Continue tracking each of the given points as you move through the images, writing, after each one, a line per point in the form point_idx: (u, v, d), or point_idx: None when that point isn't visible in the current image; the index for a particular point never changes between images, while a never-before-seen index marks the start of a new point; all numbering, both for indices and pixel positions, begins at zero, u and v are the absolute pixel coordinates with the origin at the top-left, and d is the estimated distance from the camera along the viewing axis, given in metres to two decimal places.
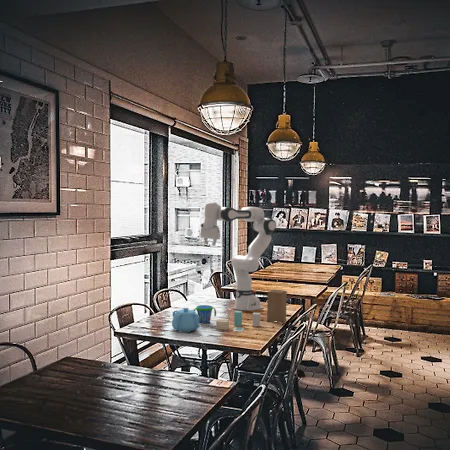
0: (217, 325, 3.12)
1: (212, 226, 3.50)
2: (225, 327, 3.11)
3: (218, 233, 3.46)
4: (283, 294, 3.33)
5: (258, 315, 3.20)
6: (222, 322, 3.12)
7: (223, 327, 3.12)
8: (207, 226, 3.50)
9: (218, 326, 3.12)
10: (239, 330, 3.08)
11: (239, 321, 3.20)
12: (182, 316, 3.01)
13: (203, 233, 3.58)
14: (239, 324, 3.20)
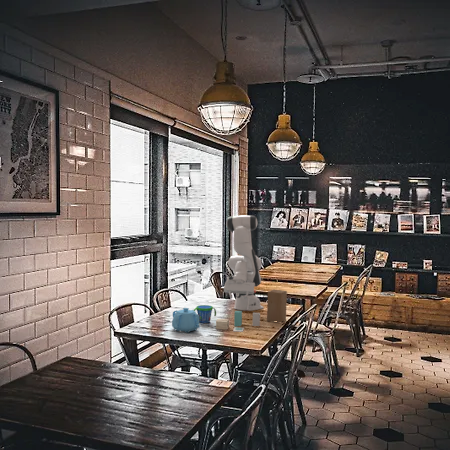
0: (216, 325, 3.12)
1: (246, 280, 3.40)
2: (225, 327, 3.11)
3: (253, 288, 3.38)
4: (283, 294, 3.33)
5: (258, 315, 3.20)
6: (222, 322, 3.12)
7: (223, 327, 3.12)
8: (242, 278, 3.39)
9: (218, 326, 3.12)
10: (239, 330, 3.08)
11: (239, 321, 3.20)
12: (182, 316, 3.01)
13: (229, 286, 3.38)
14: (239, 324, 3.20)
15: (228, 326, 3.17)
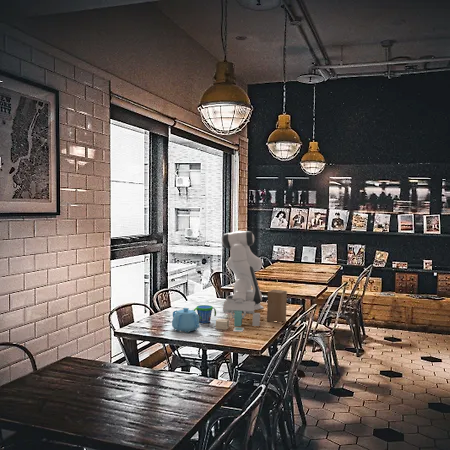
0: (216, 325, 3.12)
1: (245, 299, 3.29)
2: (224, 327, 3.11)
3: (254, 307, 3.26)
4: (283, 294, 3.33)
5: (258, 315, 3.20)
6: (221, 322, 3.12)
7: (222, 327, 3.12)
8: (242, 297, 3.27)
9: (218, 326, 3.12)
10: (239, 330, 3.08)
11: (239, 321, 3.20)
12: (182, 316, 3.01)
13: (228, 305, 3.26)
14: (239, 324, 3.20)
15: (228, 326, 3.17)
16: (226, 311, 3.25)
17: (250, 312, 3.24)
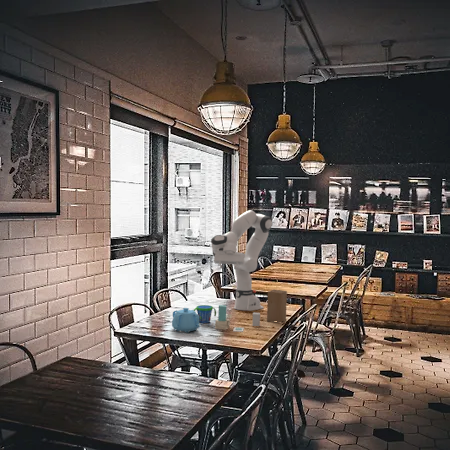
0: (216, 324, 3.13)
1: (235, 251, 3.44)
2: (224, 327, 3.11)
3: (243, 258, 3.42)
4: (283, 294, 3.33)
5: (258, 315, 3.20)
6: (221, 322, 3.12)
7: (222, 327, 3.12)
8: (232, 249, 3.43)
9: (217, 326, 3.12)
10: (239, 330, 3.08)
11: (223, 315, 3.12)
12: (182, 316, 3.01)
13: (219, 257, 3.41)
14: (223, 318, 3.12)
15: (229, 326, 3.17)
16: (217, 262, 3.41)
17: (240, 263, 3.39)
